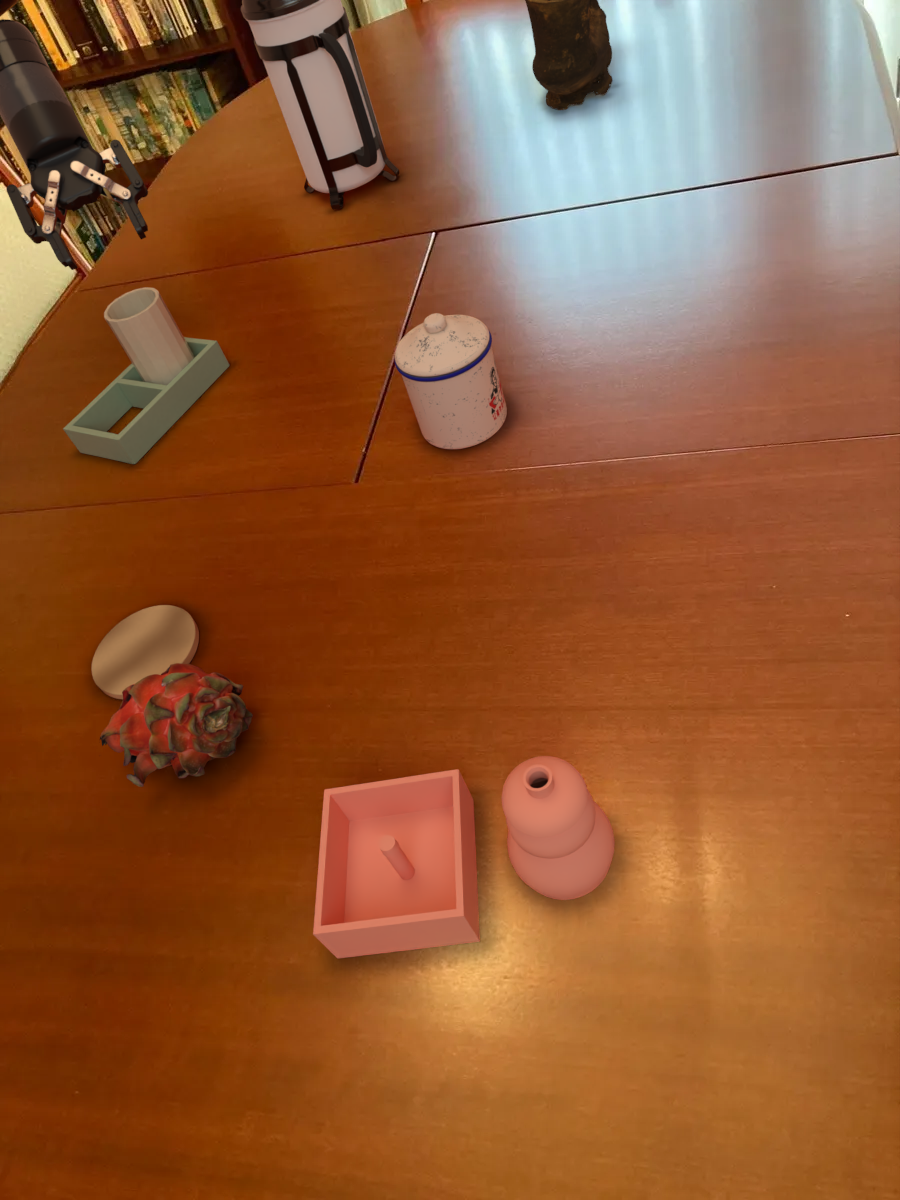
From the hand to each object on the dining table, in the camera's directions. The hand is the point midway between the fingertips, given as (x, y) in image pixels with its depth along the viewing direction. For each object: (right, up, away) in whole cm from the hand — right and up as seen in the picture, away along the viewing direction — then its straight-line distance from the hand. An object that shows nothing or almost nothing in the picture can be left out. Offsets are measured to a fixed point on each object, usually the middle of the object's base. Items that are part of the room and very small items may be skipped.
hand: (107, 251), depth 100 cm
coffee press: (+26, +20, +28) cm, 43 cm away
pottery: (+41, -57, -44) cm, 82 cm away
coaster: (+13, -44, -24) cm, 52 cm away
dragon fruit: (+19, -51, -32) cm, 63 cm away
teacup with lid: (+40, -21, -13) cm, 47 cm away
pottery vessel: (+58, +35, +30) cm, 74 cm away
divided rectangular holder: (+5, -17, +2) cm, 18 cm away
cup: (+7, -14, +4) cm, 16 cm away
